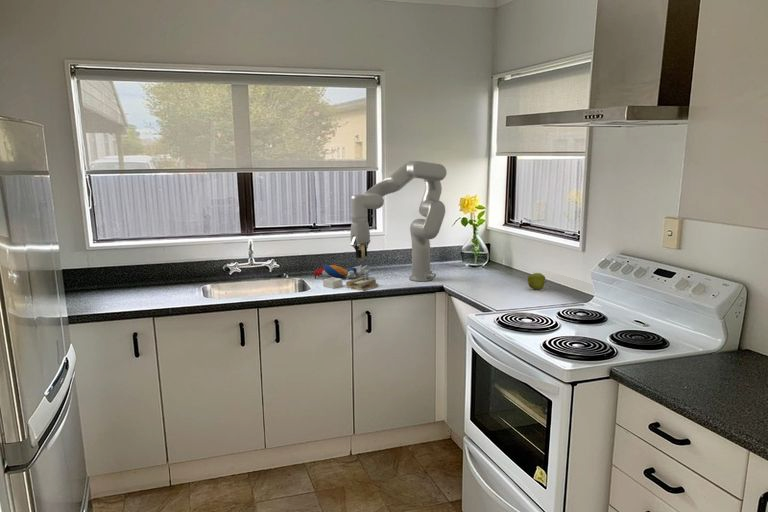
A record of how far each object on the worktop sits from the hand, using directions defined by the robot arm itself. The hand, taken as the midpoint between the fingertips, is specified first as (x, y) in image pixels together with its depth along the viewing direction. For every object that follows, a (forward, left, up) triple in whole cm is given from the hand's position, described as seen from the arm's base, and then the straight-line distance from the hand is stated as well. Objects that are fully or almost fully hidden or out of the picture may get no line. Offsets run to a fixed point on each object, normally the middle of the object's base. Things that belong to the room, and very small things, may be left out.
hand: (361, 256), depth 279 cm
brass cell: (0, 0, -1) cm, 1 cm away
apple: (-73, -43, -15) cm, 86 cm away
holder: (+13, +8, -15) cm, 21 cm away
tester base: (0, 0, -15) cm, 15 cm away
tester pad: (0, 0, -13) cm, 13 cm away
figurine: (+21, -9, -16) cm, 28 cm away
